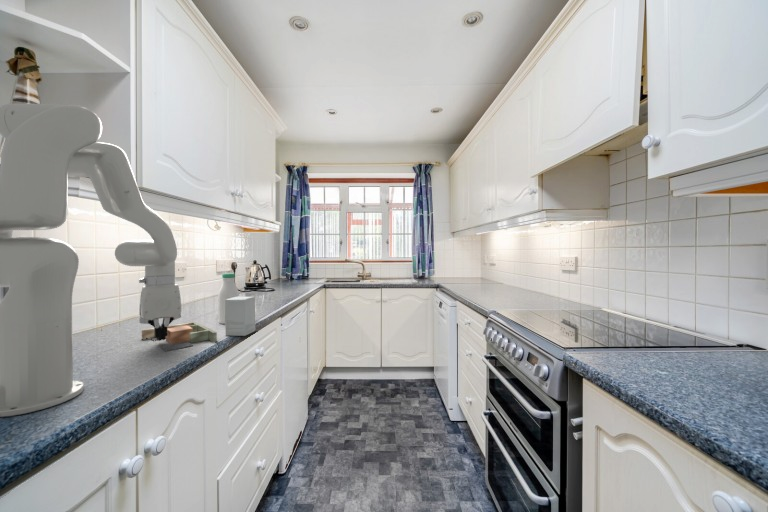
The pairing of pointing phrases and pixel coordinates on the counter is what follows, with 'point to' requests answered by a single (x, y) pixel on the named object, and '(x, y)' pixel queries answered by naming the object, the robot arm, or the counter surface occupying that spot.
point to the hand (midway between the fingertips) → (161, 339)
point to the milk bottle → (226, 294)
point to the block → (178, 334)
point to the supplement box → (239, 316)
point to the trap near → (177, 346)
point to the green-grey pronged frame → (198, 333)
